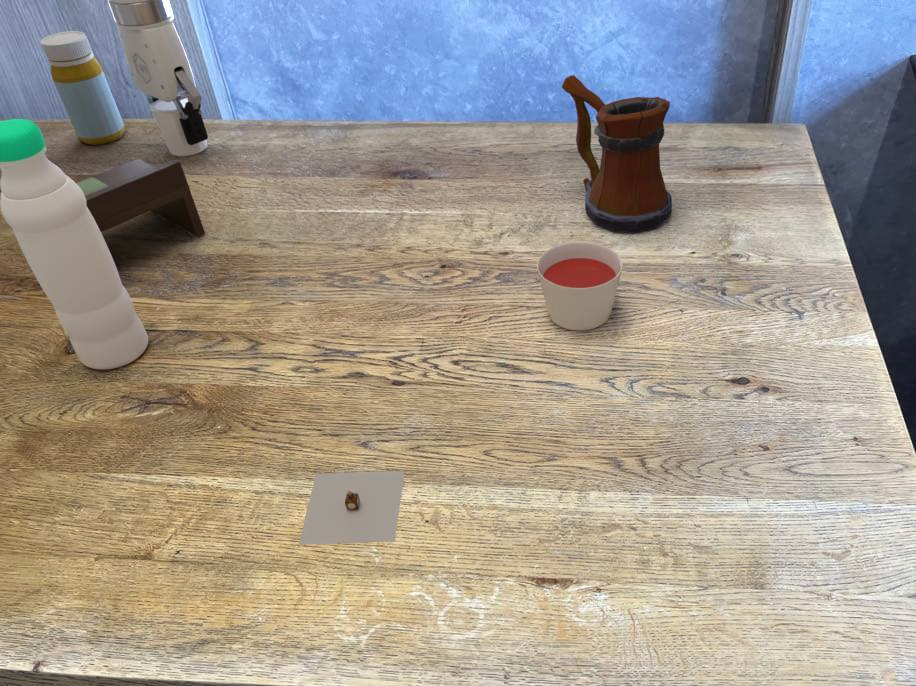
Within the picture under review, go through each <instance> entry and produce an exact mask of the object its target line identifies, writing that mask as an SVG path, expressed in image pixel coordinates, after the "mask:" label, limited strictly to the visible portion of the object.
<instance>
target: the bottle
mask: <svg viewBox="0 0 916 686" xmlns="http://www.w3.org/2000/svg"><path fill="white" fill-rule="evenodd" d="M40 45H41V47H42V50H43V52H44V54H45V57H46V58H47V61H48V63H49V65H50V75H51V78H52V81H53V83H54V85H55V88H56V90H57V93H58V94H59V98H60V100H61V102H62V105H63V106H64V109H65V112H66V113H67V116H68V118H69V120H70V123H71V125H72V127H73V129H74V132H75V134H76V136H77V138H78V140H79V141H81V142H82V143H84V144H86V145H90V146H100V145H106V144H109V143H113V142H115V141H117V140H119V139H121V138H122V137H123V136H124V133H125V131H126V127H125V124H124V122H123V119H122V116H121V113H120V111H119V108H118V106H117V104H116V101H115V98H114V96H113V93H112V90H111V88H110V85H109V82H108V80H107V77H106V74H105V73H104V70H103V68H102V65H101V64H100V62H99V61H98V60H97V58H95V55H94V52H93V50H92V47H91V44H90V41H89V40H88V37H87V35H86V33H84V32H83V31H78V30H69V31H61V32H57V33H52V34H49V35H47V36H45V37H43V38H42V39H41V40H40Z"/></svg>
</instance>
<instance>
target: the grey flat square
mask: <svg viewBox="0 0 916 686" xmlns="http://www.w3.org/2000/svg"><path fill="white" fill-rule="evenodd" d="M404 478H405V470H387V471H386V470H385V471H384V470H383V471H365V472H364V471H360V472H359V471H358V472H357V471H355V472H335V473H334V472H331V473H329V472H328V473H316V474H315V476H314V480H313V485H312V488H311V493H310V497H309V501H308V504H307V509H306V513H305V516H304V521H303V524H302V529H301V533H300V536H299V541H298V546H307V545H308V546H309V545H311V546H313V545H336V544H337V545H338V544H362V543H363V544H366V543H387V542H388V543H389V542H390V543H392V542H396V536H397V527H398V521H399V514H400V507H401V500H402V493H403V486H404Z"/></svg>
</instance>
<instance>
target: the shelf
mask: <svg viewBox="0 0 916 686" xmlns="http://www.w3.org/2000/svg"><path fill="white" fill-rule="evenodd" d="M75 183H76V184H77V185H78V186H79V187H80V188H81V190H82V191H83V193H84V195H85V198H86V202H87V208H88V209H89V211H90V213H91V214H92V216H93V218H94V220H95V222H96V224H97V226H98V227H99V230H100V232H101V233H104V232H106V231H108V230H110V229H112V228H115V227H117V226H119V225H121V224H124V223H127V222H129V221H131V220H133V219H136V218H138V217H140V216H142V215H144V214H147V213H149V212H152V213H154V214H155V215H157V216H158V217H161V218H162V219H164V220H166V221H167V222H169V223H171V224H173V225H174V226H177V227H178V228H180V229H182V230H183V231H185V232H187V233H189V234H191V235H192V236H194V237H195V238H200V237H202V236H204V235H206V232H205V228H204V227H203V223H202V220H201V218H200V217H201V216H200V215H199V211H198V209H197V206H196V203H195V201H194V197H193V194H192V191H191V188H190V185H189V182H188V180H187V178H186V175H185V172H184V168H183V166H182V163H181V161H179V160H177V159H172V160H170V161H167V162H165V163H163V164H160V165H157V166H153V165H152V164H149V163H148V162H145V161H143V160H142V159H140V158H137V159H134V160H131V161H129V162H126V163H124V164H121V165H118V166H116V167H114V168H111V169H108V170H105V171H104V172H101V173H98V174H96V175H93V176H91V177H88V178H85V179H83V180H81V181H78V182H75Z"/></svg>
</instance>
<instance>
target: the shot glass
mask: <svg viewBox="0 0 916 686" xmlns="http://www.w3.org/2000/svg"><path fill="white" fill-rule="evenodd" d="M179 95H180V94H177V96H179ZM180 102H181V103H182V105H183V107H184V108H185V104H186V103H187V102H188V99H187V98H186V99H184V100H181V101H180ZM149 111H150V112H151V115H152V117H153V120H154V121H155V124H156V125H157V127H158V130H159V132H160V134H161V136H162V138H163V141H164V143H165V145H166V147H167V149H168V151H169V153H170V154H171V155H172V156H176V157H188V156H193V155H196V154H199V153H202V152H203V151H205V150H206V149H207V148H208V139H206V140H204V141H201V142H199V143H196V144H194V145H189V144H188V143H187V141H186V138H185V135H184V132H183V129H182V126H181V123H180V120H179V119H180V118H182V117H181V115H180V114H179V112H178V110H177V108H176V106H175V104H174V103H173V101H172V102H169V103H168V102H165V101H162V100H160V99H159V100H157V101H155V102H153V103H152V104H150V105H149Z"/></svg>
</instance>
